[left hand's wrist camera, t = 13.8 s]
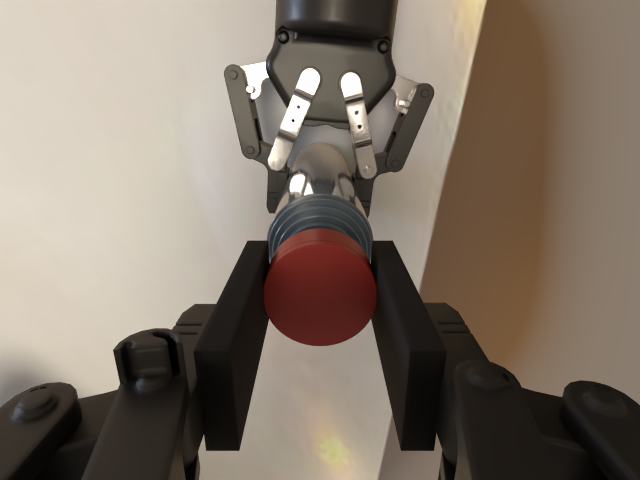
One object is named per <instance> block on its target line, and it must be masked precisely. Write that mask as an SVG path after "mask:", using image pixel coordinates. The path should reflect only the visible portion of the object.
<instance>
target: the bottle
mask: <svg viewBox="0 0 640 480" xmlns="http://www.w3.org/2000/svg"><path fill="white" fill-rule="evenodd" d="M318 228H322V229H331V230H335V231H338V232H341V233H343V234H346V235H347V236H349V237H351V238H352V239H354V240H355V241H356V242H357V243H358V244H359V245H360V246H361V247H362V248H363V250H364V251H365V253H366V254H367V256H368V258H369V261H370V258H371V246H372V241H373V235H372V230H371V227H370V225H369V222H368V219H367V217H366V214H365V211H364V209H363V206H362V204H361V201H360V198H359V196H358V193H357V190H356V188H355V185H354V182H353V180H352V177H351V175H350V172H349V169H348V167H347V164H346V161H345V159H344V157H343V155H342V154H341V152H340V151H339V150H338V149H336V148H335V147H333V146H331V145H329V144H325V143H315V144H311V145H309V146H307V147H305V148H304V149H302V150H301V151H300V152H299V154H298V155H297V157H296V159H295V161H294V164H293V167H292V169H291V172H290V175H289V177H288V180H287V182H286V185H285V188H284V190H283V193H282V196H281V198H280V201H279V204H278V206H277V209H276V212H275V214H274V217H273V220H272V222H271V225H270V228H269V231H268V235H267V241H269V258H270V261H271V259H272V257H273V255H274V253H275V252H276V250H277V249H278V247H279V246H280V245H281V244H282V243H283V242H284V241H285V240H287V239H288V238H290V237H291V236H293V235H295V234H297V233H299V232H302V231H305V230H309V229H318Z"/></svg>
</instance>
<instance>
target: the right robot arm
mask: <svg viewBox="0 0 640 480" xmlns="http://www.w3.org/2000/svg"><path fill="white" fill-rule="evenodd" d="M397 5H398V0H276V21H275V39H274V44H273V47H272V49H271V51H270V53H269V55H268V56H267V59H266V62H263V63H258V64H253V65H247V66H242V67H240V66H237V65H229V66H227V67H226V69H225V71H224V77H225V81H226V85H227V90H228V94H229V98H230V103H231V107H232V111H233V115H234V120H235V124H236V128H237V132H238V137H239V141H240V145H241V150H242V153H243V155H244V156H245V157H246V158H248V159H254V160H256V161H258V162H260V163H262V164H264V165H265V166H266V168H267V170H268V188H267V208H268V211H269V213H275V212H276V209H277V206H278V204H279V201H280V198H281V196H282V193H283V190H284V188H285V185H286V182H287V180H288V177H289V173H290V167H287V160H288V158H289V155H290V153H291V151H292V148H293V146H294V143H295V141H296V139H297V136H298V134H299V132H300V129H301V127H302V124H303V125H304V126H319V125H325V124H327V125H330V126H332V127H335V128H338V129H348V131H349V135H350V140H351V143H352V147H353V152H354V157H355V161H356V172H355V173H352V180H353V182H354V185H355V188H356V190H357V193H358V196H359V198H360V201H361V204H362V206H363V209H364V211H365V214H366V217H367V218H368V216H369V211H370V204H371V196H372V189H373V182H374V180H375V178H376V177H377V176H378V175H380V174H383V173H387V172H390V171H391V172H398V171H400V170H401V169H402V168H403V166H404V164H405V161H406V159H407V157H408V154H409V152H410V150H411V147H412V145H413V143H414V140H415V138H416V136H417V133H418V131H419V129H420V126H421V124H422V122H423V119H424V117H425V115H426V112H427V110H428V108H429V105H430V103H431V101H432V98H433V96H434V89H433V87H432V86H431V85H430V84H426V83H420V84H419V83H416V82H413V81H411V80H408V79H406V78H403V77H401V76H398V75H396V70H395V67H394V64H393V60H392V54H391V51H392V42H393V34H394V27H395V20H396V12H397ZM267 78H269V79H270V81H271V82H272V84H273V86H274V87H275V89H276V91H277V92H278V94H279V96H280V97H281V99H282V101H283V102H284V104H285V106H286V107H287V109H288V110H287V112H286V115H285V117H284V120H283V122H282V125H281V127H280V130H279V132H278V136H277V138H276V141H275V143H274V146H273V145H270V144H268V143H266V142H264V141H263V137H262V132H261V128H260V123H259V118H258V114H257V109H256V104H255V100H254V99H256V98H259V97H260V96H261V94H262V85H263V82H264V81H265V80H266V79H267ZM389 90H391V91H392V92H393V93H394V108H395V110H396V111H398V112H399V115H398V117H397V120H396V122H395V124H394V127H393V129H392V132H391V134H390V137H389V139H388V142H387V144H386V147H385V149H384V152H382V153H378V154H374V152H373V147H372V138H371V133H370V128H369V123H368V118H367V115H368V114H369V113H370V112H371V111H372V110H373V108H374V107H375V106H376V105H377V104H378V103H379V102H380V100H381V99H382V98H383V97H384V96H385V95H386V94H387V92H388V91H389Z"/></svg>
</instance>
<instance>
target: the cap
mask: <svg viewBox="0 0 640 480" xmlns="http://www.w3.org/2000/svg"><path fill="white" fill-rule="evenodd" d="M263 289H264V307H265V311H266V313H267V315H268V317H269V319H270V320H271V322H272V323H273V325H274V326H275V327H276V328H277V329H278V330H279V331H280V332H281V333H283V334H284V335H285V336H287V337H289V338H290V339H292V340H294V341H297V342H299V343H303V344H306V345H312V346H328V345H334V344H338V343H341V342H343V341H346V340H348V339H350V338H352V337H353V336H355V335H356V334H358V333H359V332H360V331H361V330H362V329H363V328H364V327H365V326H366V325H367V324H368V322H369V321H370V319H371V317H372V316H373V313H374V311H375V308H376V295H377V285H376V281H375V278H374V274H373V271H372V268H371V264H370V261H369V258H368V256H367V254H366V253H365V251H364V250H363V248H362V247H361V246H360V245H359V244H358V243H357V242H356V241H355V240H354V239H352V238H351V237H349V236H347V235H346V234H343V233H341V232H338V231H335V230H331V229H322V228H318V229H309V230H305V231H302V232H299V233H297V234H295V235H293V236H291V237H290V238H288V239H287V240H285V241H284V242H283V243H282V244H281V245H280V246H279V247H278V249H277V250H276V252H275V253H274V255H273V257H272V259H271V262H270V265H269V268H268V272H267V275H266V279H265V282H264V286H263Z"/></svg>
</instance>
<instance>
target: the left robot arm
mask: <svg viewBox="0 0 640 480" xmlns="http://www.w3.org/2000/svg"><path fill="white" fill-rule="evenodd" d="M269 265H270V261H269V241H247V243H246V245H245V247H244V249H243V251H242V253H241V255H240V257H239V259H238V261H237V263H236V265H235V267H234V269H233V271H232V273H231V276H230V278H229V280H228V282H227V284H226V286H225V288H224V290H223V292H222V294H221V296H220V298H219V300H218V302H217V304H195V305H193V306H192V307H190V308H189V309H188V310H186V311H185V312H183V313H182V315H181V316H180V318H179V319H178V321H177V323H176V326H174V327H173V329H172V330H170V329H158V328H155V329H150V330H144V331H141V332H138V333H135V334H133V335H130V336H128V337H127V338H125V339H124V340H122V341H121V342H119V344H118V345H117V346H116V347H115V348H114V350H113V352H114V356H115V361H116V366H117V370H118V375H119V380H120V386H119V388H118V390H115V391H111V392H108V393H104V394H99V395H94V396H90V397H85V398H81V399H78V395H77V391H76V389H75V388H74V387H73V386H72V385H71V384H66V383H62V382H57V383H46V384H43V385H40V386H36V387H33V388H30V389H28V390H26V391H24V392H22V393H20V394H18V395H16V396H15V397H14V398H12V399H11V400H10V401H8V402H7V403H5V404H4V405H3V406H2V407H1V408H0V480H199V474H200V463H199V456H198V450H199V447H200V444H201V441H202V438H203V435H204V437H205V444H206V451H239V449H240V445H241V440H242V436H243V432H244V427H245V423H246V418H247V414H248V409H249V405H250V401H251V396H252V392H253V387H254V383H255V379H256V374H257V370H258V365H259V361H260V356H261V352H262V348H263V343H264V339H265V334H266V330H267V326H268V321H269V317H268V315H267V313H266V311H265V307H264V289H263V286H264V282H265V279H266V275H267V272H268V268H269ZM371 268H372V271H373V274H374V278H375V281H376V285H377V295H376V308H375V311H374V313H373V316H372V317H371V320H372V324H373V329H374V333H375V338H376V342H377V347H378V351H379V355H380V360H381V364H382V369H383V373H384V377H385V382H386V386H387V391H388V395H389V400H390V404H391V408H392V413H393V417H394V421H395V426H396V430H397V435H398V439H399V444H400V448H401V451H434V446H435V439H436V432H437V435H438V438H439V441H440V444H441V447H442V456H441V463H440V470H439V477H438V480H640V405H639V404H638V403H637V402H635V401H634V400H632V399H631V398H630V397H628V396H627V395H626V394H624V393H622V392H620V391H618V390H616V389H614V388H612V387H610V386H607V385H604V384H601V383H597V382H591V381H576V382H571V383H569V384H568V385H567V386H566V387H565V389H564V393H563V396H562V397H558V396H554V395H549V394H544V393H540V392H535V391H532V390H528V389H525V388H522V387H521V385H520V383H519V382H518V380H517V379H516V377H515V376H514V375H513V374H512V373H511V372H509V371H508V370H507V369H505V368H504V367H501V366H499V365H497V364H495V363H492V362H489V360H488V359H487V357H486V355H485V354H484V352H483V351H482V349H481V348H480V346H479V344H478V343H477V341H476V340H475V338H474V336H473V335H472V334H470V330H469V329H468V327H467V325H465V322H464V321H463V319H462V318H461V316H460V314H459V313H458V312H457V311H456V310H455V309H453V308H452V307H450V306H449V305H448V304H446V303H423V301H422V299H421V297H420V295H419V293H418V291H417V289H416V287H415V285H414V283H413V281H412V279H411V277H410V275H409V273H408V271H407V269H406V267H405V265H404V263H403V261H402V259H401V257H400V255H399V253H398V251H397V249H396V247H395V245H394V242H393V241H372V246H371Z"/></svg>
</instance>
